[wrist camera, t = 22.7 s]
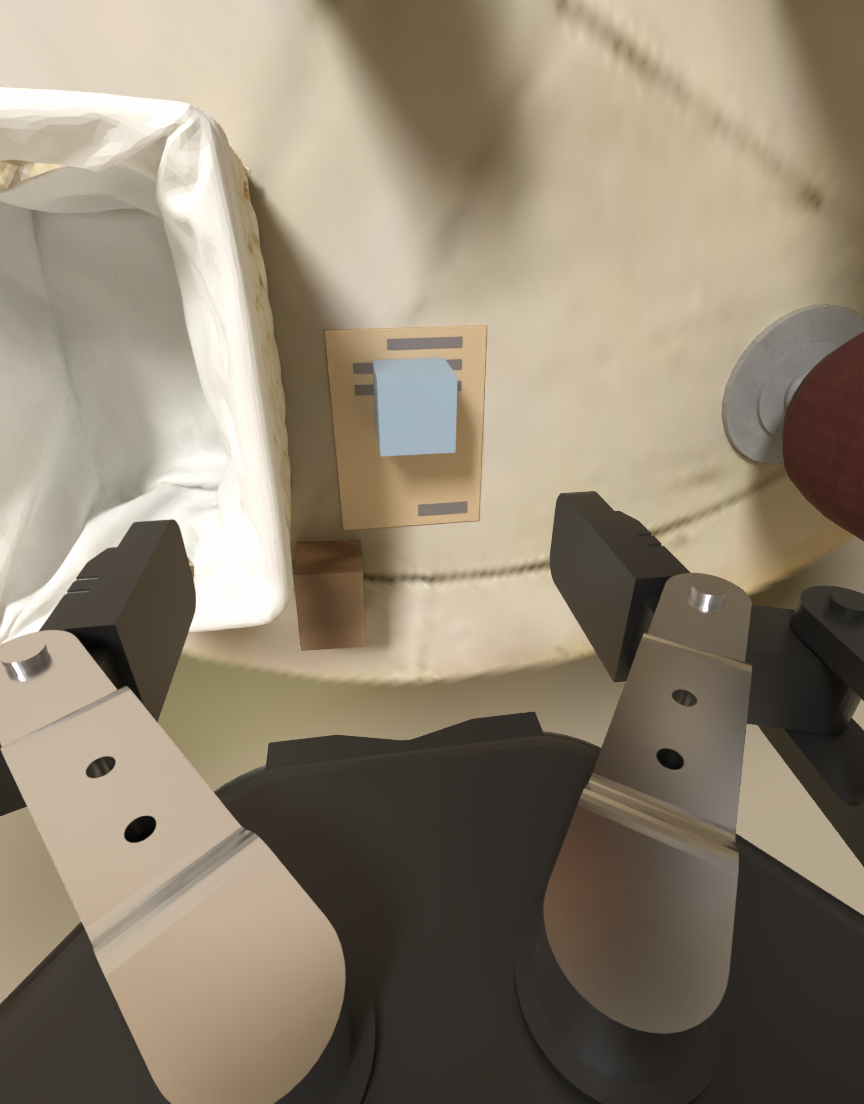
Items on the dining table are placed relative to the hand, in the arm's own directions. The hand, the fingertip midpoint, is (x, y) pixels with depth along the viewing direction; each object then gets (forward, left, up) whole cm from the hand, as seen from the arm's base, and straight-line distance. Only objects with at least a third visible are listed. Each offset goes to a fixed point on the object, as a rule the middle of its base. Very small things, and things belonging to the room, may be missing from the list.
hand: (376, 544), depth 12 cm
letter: (-4, +8, -30) cm, 31 cm away
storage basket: (+12, +2, -30) cm, 33 cm away
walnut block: (+3, +20, -30) cm, 36 cm away
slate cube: (-4, +5, -30) cm, 31 cm away
